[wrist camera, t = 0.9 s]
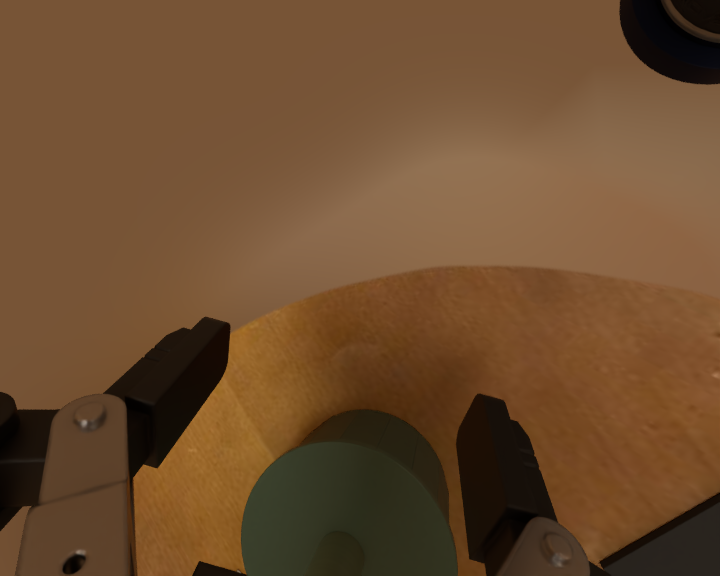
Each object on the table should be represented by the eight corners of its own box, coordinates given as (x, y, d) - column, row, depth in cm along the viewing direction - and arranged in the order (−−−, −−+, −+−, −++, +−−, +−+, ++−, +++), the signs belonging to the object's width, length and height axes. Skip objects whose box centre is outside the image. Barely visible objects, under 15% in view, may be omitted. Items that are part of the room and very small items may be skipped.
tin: (380, 379, 27) (358, 407, 21) (481, 512, 26) (494, 591, 19) (270, 462, 29) (218, 513, 22) (357, 591, 27) (329, 688, 21)
